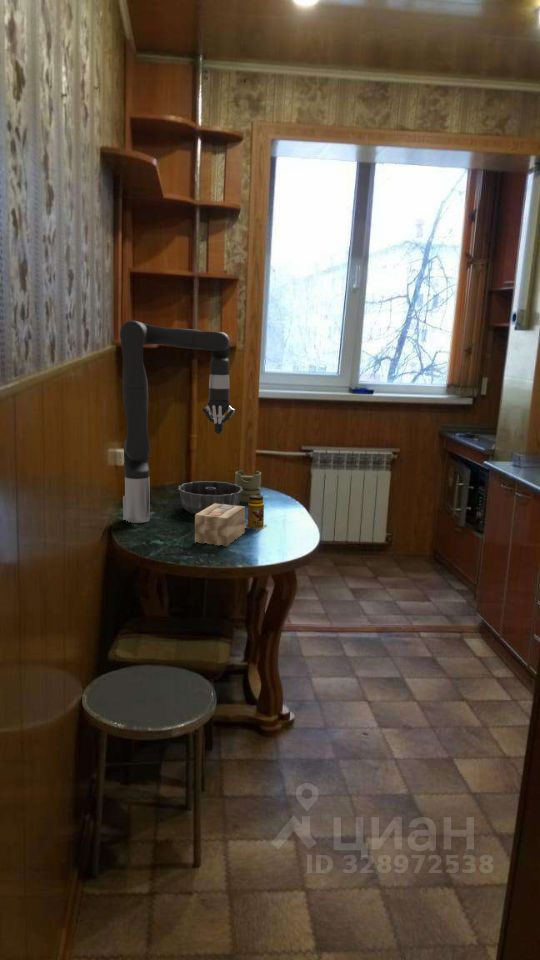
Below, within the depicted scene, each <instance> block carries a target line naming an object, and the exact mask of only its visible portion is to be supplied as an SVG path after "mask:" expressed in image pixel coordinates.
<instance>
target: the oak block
mask: <svg viewBox="0 0 540 960" xmlns="http://www.w3.org/2000/svg"><path fill="white" fill-rule="evenodd" d="M221 506H231V507H233V508H231V509H230V510H229V509H220V507H221ZM211 512H219V513H223V514H222V515H220V516H214V515H208V514H209V513H211ZM245 523H246V506H243V505H239V506H235V505H225V504H216V503H215V504H213V505H211V506H209V507H208V508H206V509H204V510H202V511H201V512H199V513H197V514H196V513H195V515H194V543H196V542H198V544H204V543H207V544H206V545H212V544H214V546H220V545H223V546H222V547H228V546H229V545H231V544H232V543H233V542H235V541H236V540H237V539H239V538H240V537H241V536H243V535H244V534H245V533H246V530H245V529H246V528H245ZM242 534H243V535H242ZM238 537H239V538H238ZM235 539H236V540H235ZM234 540H235V541H234ZM230 543H231V544H230Z"/></svg>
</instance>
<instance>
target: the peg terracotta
mask: <svg viewBox="0 0 540 960" xmlns="http://www.w3.org/2000/svg"><path fill="white" fill-rule="evenodd" d="M222 514H223V513H219V512H211V513H209V514H208V515H214V516H220V515H222Z"/></svg>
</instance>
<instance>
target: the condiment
mask: <svg viewBox="0 0 540 960" xmlns="http://www.w3.org/2000/svg"><path fill="white" fill-rule="evenodd" d="M249 498H250V500H249V502H247V503H248V504H247V505H248V506H247V521H245V529H250V528H253V529H252V530H262V529H264V528H265V527H266V526H267V524H264V523H265V521H264V519H265V503H264V496H263V495H251V496H250V497H249ZM246 526H247V527H246ZM248 527H249V528H248Z"/></svg>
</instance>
